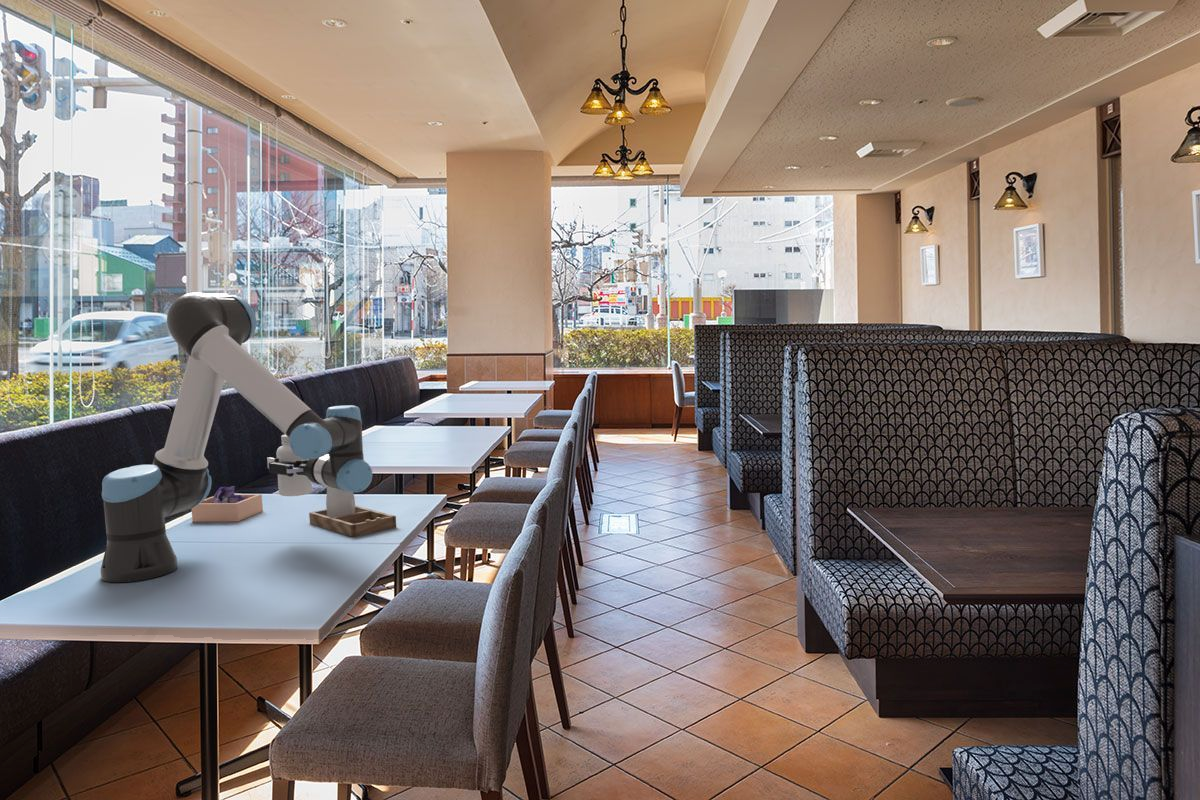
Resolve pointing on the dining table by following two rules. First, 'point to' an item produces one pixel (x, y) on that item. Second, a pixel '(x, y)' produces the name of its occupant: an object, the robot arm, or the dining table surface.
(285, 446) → the pill bottle
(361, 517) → the slot rack
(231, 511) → the flower planter
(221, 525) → the dining table surface
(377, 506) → the dining table surface
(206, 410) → the robot arm
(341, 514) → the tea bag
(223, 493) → the flower
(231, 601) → the dining table surface
